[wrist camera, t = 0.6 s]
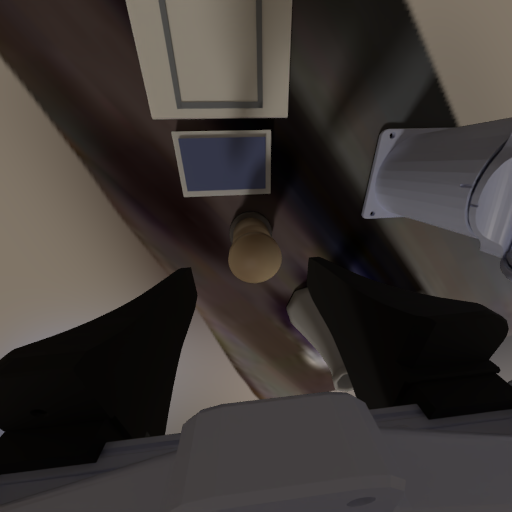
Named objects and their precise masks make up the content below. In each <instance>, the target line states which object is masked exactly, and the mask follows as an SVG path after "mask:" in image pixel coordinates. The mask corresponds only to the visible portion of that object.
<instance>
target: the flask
mask: <svg viewBox="0 0 512 512" xmlns="http://www.w3.org/2000/svg"><path fill="white" fill-rule="evenodd" d="M286 309H287V312H288V315H289V318H290V321H291V323H292V324H293V325H294V326H295V327H296V328H297V329H298V330H299V331H300V332H301V333H302V334H303V335H304V336H305V337H306V338H307V340H308V341H309V342H310V343H311V344H312V345H313V346H314V347H315V348H316V349H317V351H318V352H319V353H320V354H321V356H322V357H323V359H324V361H325V362H326V364H327V365H328V367H329V369H330V371H331V373H332V375H333V376H332V379H333V383H334V387H335V390H339V391H351V390H354V389H353V387H352V384H351V381H350V379H349V376H348V373H347V370H346V368H345V365H344V363H343V361H342V358H341V356H340V353H339V351H338V348H337V346H336V344H335V341H334V339H333V337H332V335H331V333H330V331H329V329H328V327H327V325H326V323H325V322H324V320H323V318H322V316H321V315H320V313H319V311H318V309H317V307H316V306H315V304H314V302H313V300H312V298H311V296H310V293H309V290H308V288H304V289H301V290H297V291H295V292H294V294H293V296H292V298H291V300H290V302H289V304H288V306H287V308H286Z"/></svg>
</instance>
